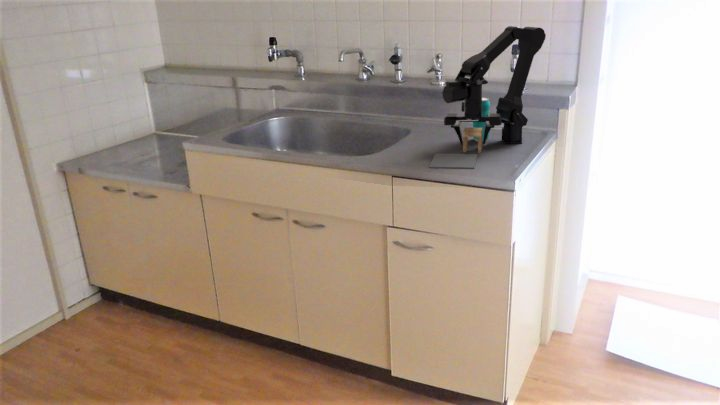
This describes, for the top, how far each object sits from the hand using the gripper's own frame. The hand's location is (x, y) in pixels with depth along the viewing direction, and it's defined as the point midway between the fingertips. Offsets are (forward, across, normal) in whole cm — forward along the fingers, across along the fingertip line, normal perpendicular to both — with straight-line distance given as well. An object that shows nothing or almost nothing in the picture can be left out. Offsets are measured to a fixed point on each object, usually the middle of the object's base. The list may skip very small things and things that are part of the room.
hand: (472, 144), depth 204 cm
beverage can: (+2, -2, -12) cm, 12 cm away
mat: (+2, +5, +13) cm, 14 cm away
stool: (+2, 0, 0) cm, 2 cm away
